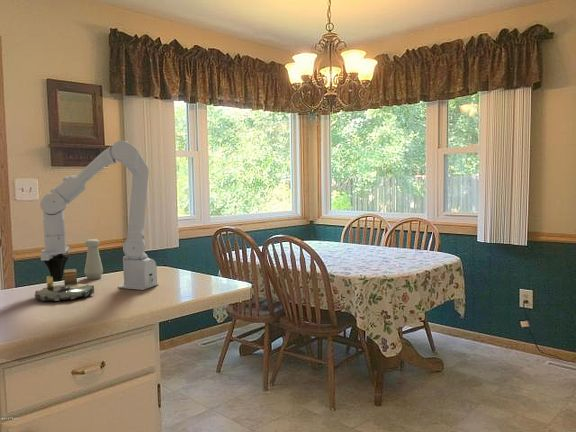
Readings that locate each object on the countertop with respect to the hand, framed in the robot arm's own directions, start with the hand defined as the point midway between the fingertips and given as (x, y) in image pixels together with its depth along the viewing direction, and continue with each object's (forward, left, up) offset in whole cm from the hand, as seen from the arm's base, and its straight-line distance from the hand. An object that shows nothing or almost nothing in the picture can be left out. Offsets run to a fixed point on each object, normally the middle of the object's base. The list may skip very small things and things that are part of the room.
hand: (57, 280), depth 145 cm
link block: (+2, -7, -3) cm, 8 cm away
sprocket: (-7, +4, -3) cm, 9 cm away
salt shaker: (+4, -19, -3) cm, 19 cm away
